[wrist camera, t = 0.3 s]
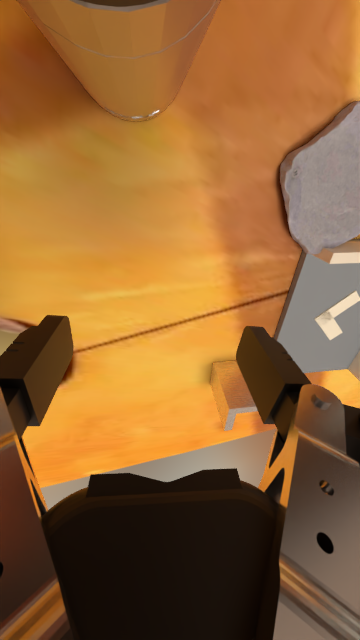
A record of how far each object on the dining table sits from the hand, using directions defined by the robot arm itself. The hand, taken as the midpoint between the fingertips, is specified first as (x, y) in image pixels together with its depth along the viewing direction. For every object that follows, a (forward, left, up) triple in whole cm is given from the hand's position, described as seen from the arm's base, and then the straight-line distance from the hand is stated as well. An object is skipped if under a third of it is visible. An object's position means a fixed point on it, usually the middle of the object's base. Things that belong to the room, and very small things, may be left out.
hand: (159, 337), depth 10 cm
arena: (+13, +28, -18) cm, 36 cm away
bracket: (+24, +12, -18) cm, 32 cm away
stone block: (-4, +19, -19) cm, 27 cm away
